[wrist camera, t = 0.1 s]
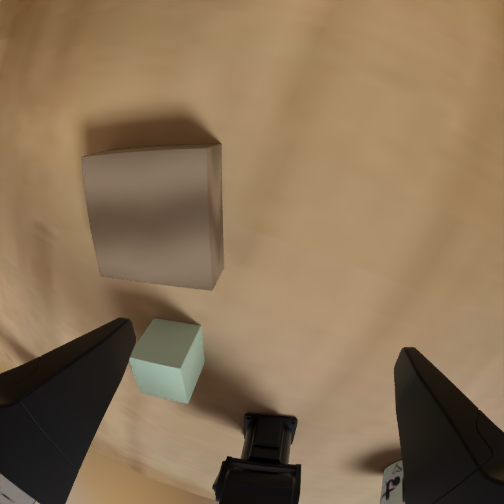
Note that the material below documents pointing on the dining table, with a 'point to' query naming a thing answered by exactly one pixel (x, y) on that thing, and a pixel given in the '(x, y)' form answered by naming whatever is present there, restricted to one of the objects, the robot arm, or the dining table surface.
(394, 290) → the dining table surface
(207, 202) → the walnut base
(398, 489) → the white cup
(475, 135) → the dining table surface
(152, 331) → the green block
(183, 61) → the dining table surface
